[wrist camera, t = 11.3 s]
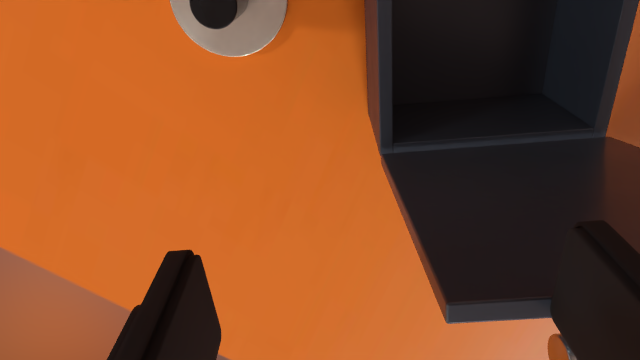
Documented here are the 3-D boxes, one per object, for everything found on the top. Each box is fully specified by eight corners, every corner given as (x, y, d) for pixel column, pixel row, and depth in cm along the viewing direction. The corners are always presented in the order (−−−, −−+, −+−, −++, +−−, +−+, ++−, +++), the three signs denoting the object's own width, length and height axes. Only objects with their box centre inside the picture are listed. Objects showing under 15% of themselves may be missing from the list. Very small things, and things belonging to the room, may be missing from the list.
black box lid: (446, 303, 12) (444, 435, 13) (983, 271, 11) (917, 413, 12) (380, 153, 26) (383, 223, 28) (609, 136, 26) (599, 209, 27)
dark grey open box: (360, -111, 27) (373, -131, 20) (585, -135, 26) (680, -164, 19) (368, 113, 33) (380, 156, 27) (546, 99, 33) (605, 139, 26)
